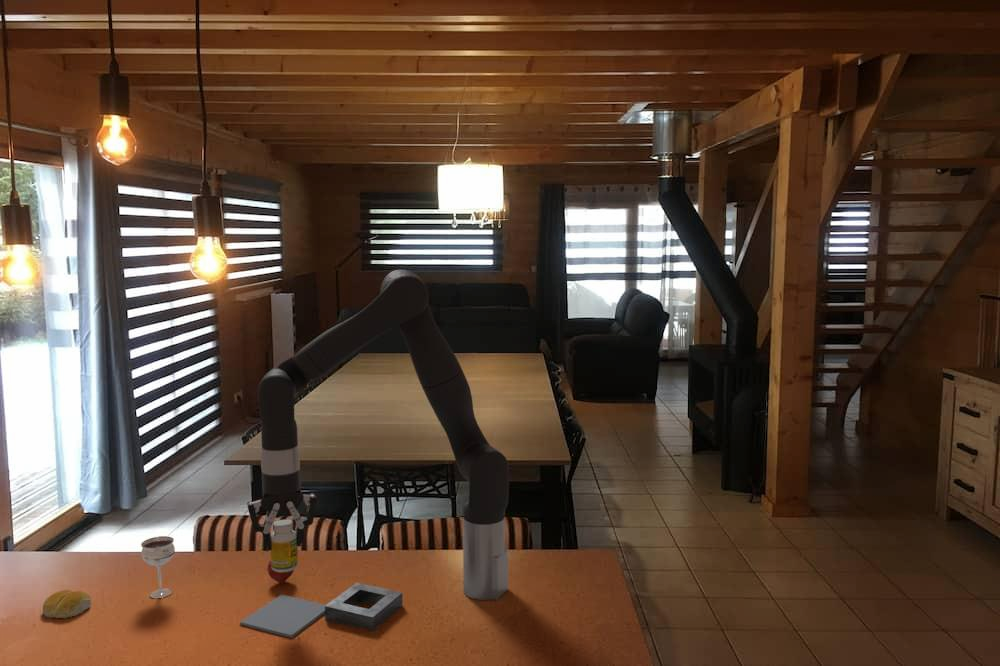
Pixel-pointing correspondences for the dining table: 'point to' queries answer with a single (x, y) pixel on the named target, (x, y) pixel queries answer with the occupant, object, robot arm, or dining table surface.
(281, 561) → the supplement bottle
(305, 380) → the robot arm
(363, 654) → the dining table surface
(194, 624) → the dining table surface
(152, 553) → the wineglass
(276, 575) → the onion
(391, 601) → the holder ring
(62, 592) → the bread roll
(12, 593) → the dining table surface
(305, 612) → the rubber mat
